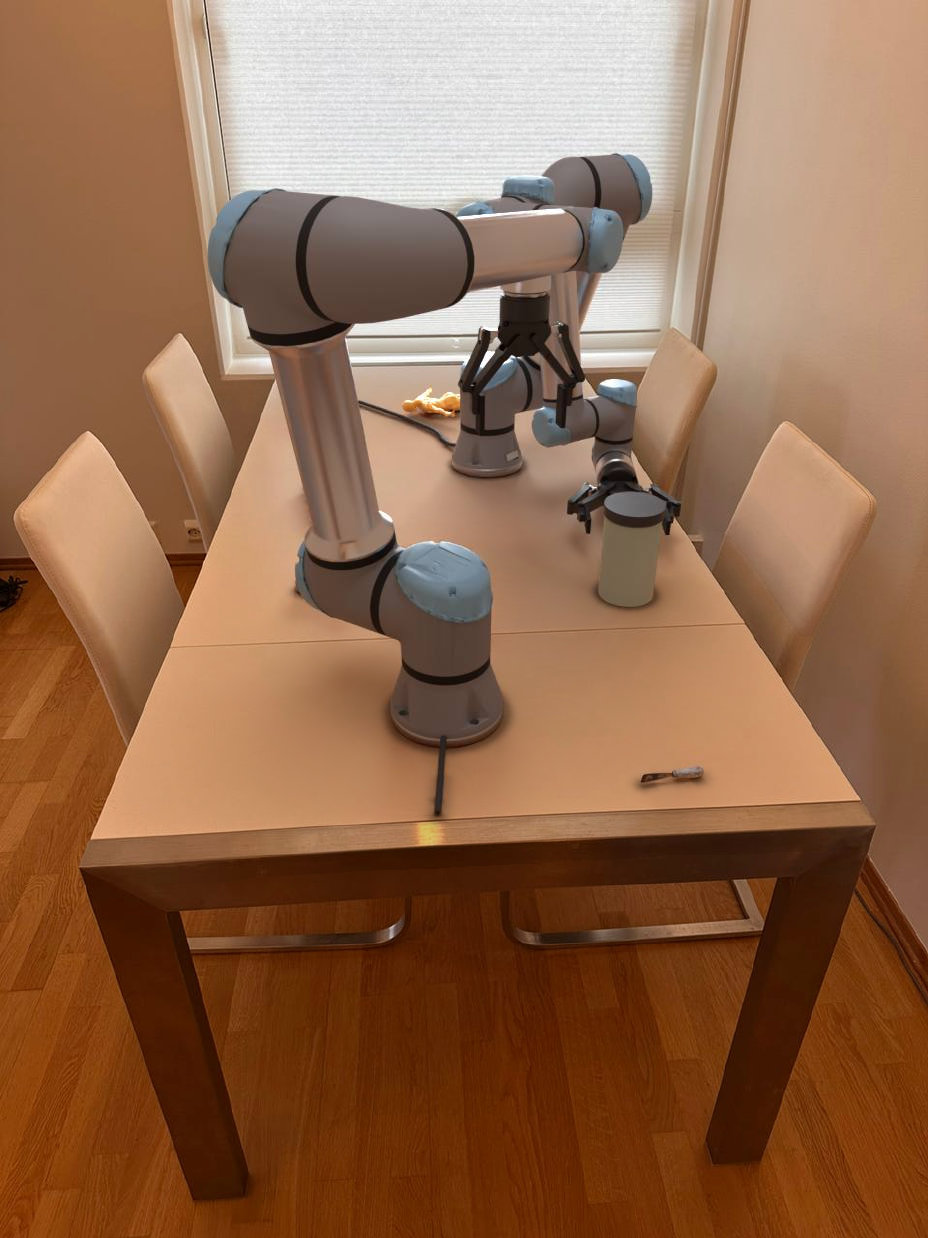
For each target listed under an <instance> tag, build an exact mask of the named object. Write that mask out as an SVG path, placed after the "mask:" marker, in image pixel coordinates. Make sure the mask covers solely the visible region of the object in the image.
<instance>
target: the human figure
mask: <svg viewBox="0 0 928 1238" xmlns="http://www.w3.org/2000/svg"><path fill="white" fill-rule="evenodd" d="M424 391H425V392H423V393H422V394H420V395H418V396H416V398H415V399H414V400H404V401H403V402H402V411H404V412H405V413H410V414H412V413H414V412H417V408H418V409H420V410H421V411H423V412H424V413H427V414H439V415H443V416H444V417H449V416H450V417H451V418H452V417H453V418H454V417H455V416H456V414H455V411H460V393H457V394H455V393H453V392H446V393H444V394H443V395H442V396H441V397H440V398H434V397H429V396H430V395H432V394H433V392H434V391H433V389H432V385H429V387H428V389H424ZM450 410H452V411H450Z"/></svg>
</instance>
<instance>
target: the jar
mask: <svg viewBox="0 0 928 1238" xmlns="http://www.w3.org/2000/svg"><path fill="white" fill-rule="evenodd" d="M662 530H663V527H662V522H660V523H659V524H656V525H653V526H649V527H628V526H622V525H619V524H616V523H613V522H611V521H610V520H608V519H607V518H606V517H605V516H604V520H603V531H602V541H601V553H600V563H599V565H600V567H599V576H598V587H597V592H598V596H599V598H601V600H603V601H605V602H606V603H609V604H611V605H613V606H617V607H622V608H637V607H642V606H644V605H647V604H649V603H651V601H652V600H653V598H654V594H655V593H654V592H655V583H656V576H657V568H658V561H659V560H658V559H659V552H660V545H661V544H660V543H661V535H662Z"/></svg>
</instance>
